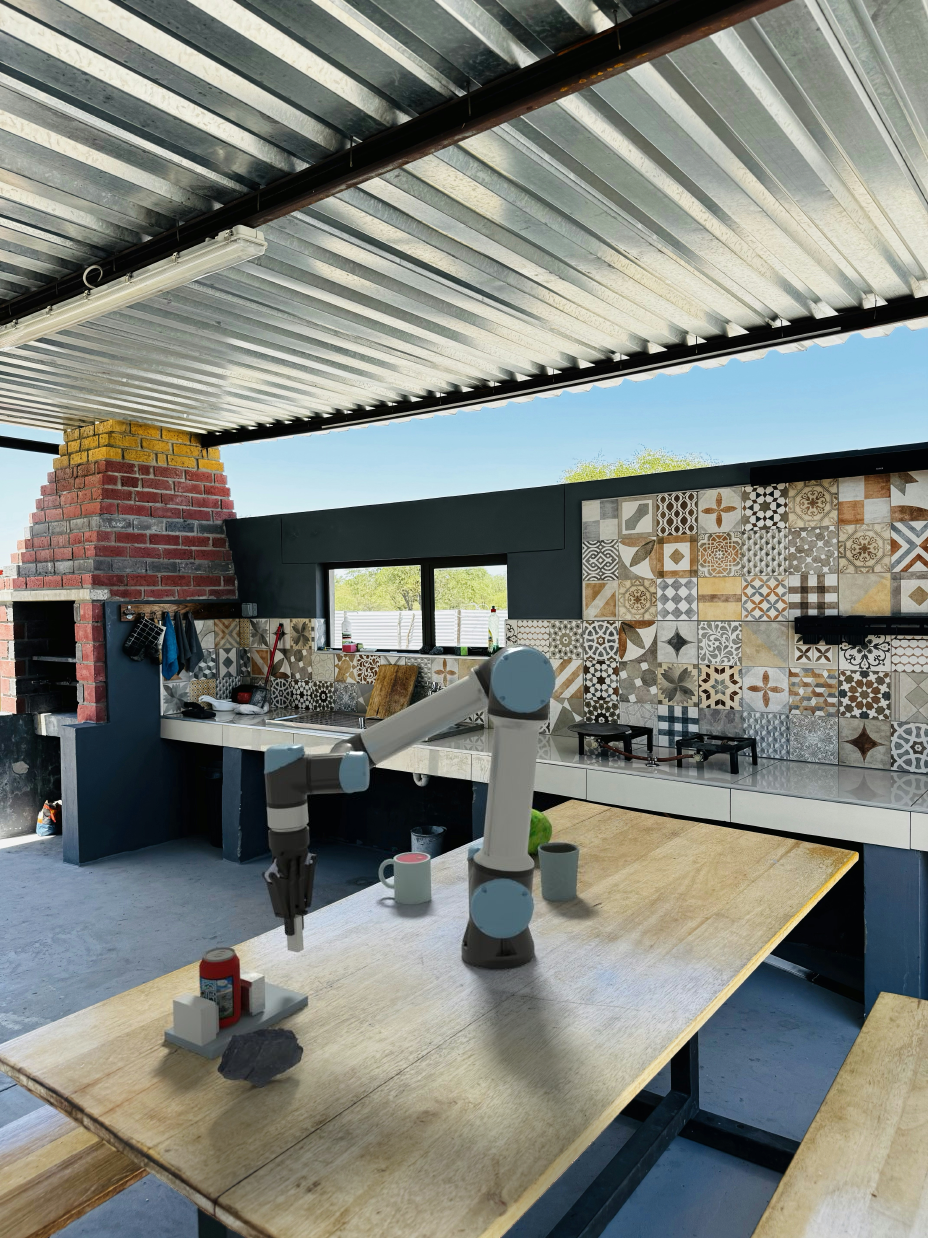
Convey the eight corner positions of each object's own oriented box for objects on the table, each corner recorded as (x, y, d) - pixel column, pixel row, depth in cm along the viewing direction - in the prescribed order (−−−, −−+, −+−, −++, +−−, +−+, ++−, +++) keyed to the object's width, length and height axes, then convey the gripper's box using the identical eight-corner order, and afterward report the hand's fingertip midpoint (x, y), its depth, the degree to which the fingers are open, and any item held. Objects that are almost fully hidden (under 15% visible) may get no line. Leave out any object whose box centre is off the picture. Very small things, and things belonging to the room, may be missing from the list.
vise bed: (308, 1004, 154) (307, 963, 153) (212, 1060, 135) (211, 1013, 135) (262, 988, 160) (261, 949, 160) (164, 1040, 142) (163, 996, 142)
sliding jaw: (265, 1009, 148) (264, 975, 148) (249, 1017, 145) (249, 983, 145) (238, 999, 152) (237, 966, 152) (222, 1007, 149) (221, 974, 149)
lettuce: (501, 842, 256) (513, 798, 257) (556, 864, 243) (567, 818, 244) (473, 841, 244) (484, 795, 246) (528, 864, 232) (540, 816, 233)
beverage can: (192, 1030, 142) (190, 960, 142) (214, 1011, 148) (212, 944, 148) (228, 1034, 140) (226, 963, 140) (248, 1015, 147) (246, 947, 146)
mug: (436, 893, 211) (435, 853, 211) (423, 906, 202) (422, 864, 202) (387, 888, 216) (386, 849, 216) (371, 900, 207) (370, 860, 207)
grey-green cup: (533, 900, 205) (532, 851, 205) (545, 886, 214) (544, 840, 214) (574, 904, 201) (573, 855, 201) (584, 891, 210) (583, 843, 210)
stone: (280, 1060, 135) (279, 998, 135) (309, 1069, 132) (308, 1006, 132) (215, 1105, 123) (213, 1038, 122) (246, 1117, 120) (244, 1048, 119)
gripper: (297, 816, 166) (304, 934, 167) (248, 833, 155) (256, 959, 156) (326, 820, 162) (333, 940, 163) (277, 837, 151) (285, 967, 152)
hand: (295, 950), depth 159 cm, fingers closed
